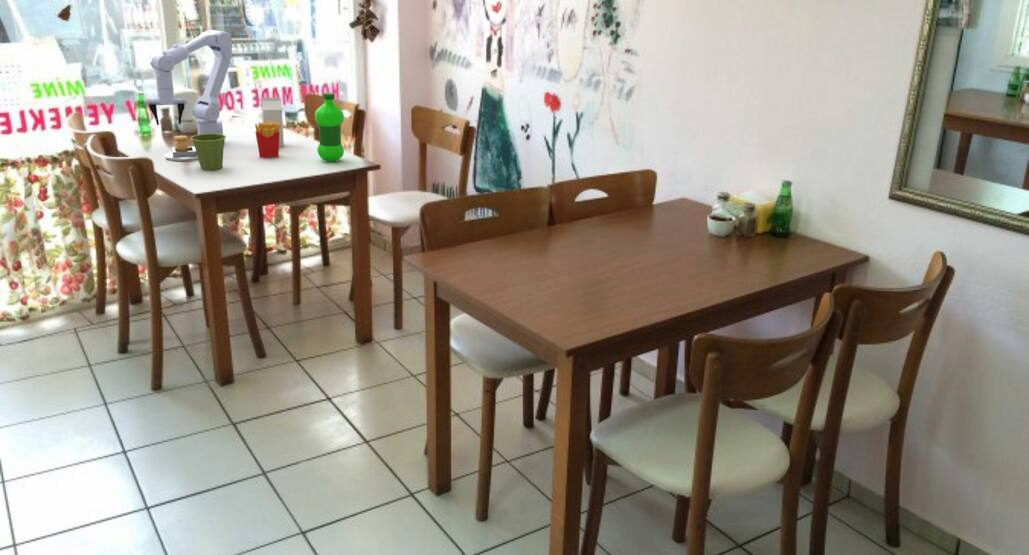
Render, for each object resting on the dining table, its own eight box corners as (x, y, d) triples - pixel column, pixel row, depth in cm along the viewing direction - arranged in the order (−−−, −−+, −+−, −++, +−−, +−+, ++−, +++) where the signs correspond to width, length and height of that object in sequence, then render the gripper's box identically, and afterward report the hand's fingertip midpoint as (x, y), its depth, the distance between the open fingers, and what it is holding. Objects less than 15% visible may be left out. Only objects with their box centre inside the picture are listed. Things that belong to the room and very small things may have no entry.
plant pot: (209, 162, 304) (206, 131, 300) (235, 166, 300) (233, 135, 296) (186, 169, 294) (182, 137, 290) (213, 174, 290) (210, 142, 286)
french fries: (257, 158, 313) (254, 123, 309) (256, 155, 317) (254, 121, 312) (282, 157, 316) (280, 123, 311) (281, 154, 320) (279, 121, 315)
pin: (185, 152, 312) (183, 135, 310) (192, 154, 309) (190, 137, 307) (173, 154, 309) (171, 136, 306) (180, 156, 306) (178, 139, 303)
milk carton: (284, 147, 332) (281, 99, 325) (265, 147, 329) (262, 99, 322) (281, 143, 338) (279, 95, 331) (263, 143, 335) (260, 96, 328)
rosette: (219, 151, 320) (219, 142, 319) (223, 159, 309) (222, 150, 308) (165, 154, 313) (164, 145, 311) (166, 162, 302) (165, 153, 300)
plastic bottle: (341, 156, 321) (339, 91, 312) (346, 163, 312) (344, 96, 303) (315, 157, 318) (312, 91, 309) (319, 164, 309) (316, 96, 300)
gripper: (185, 85, 316) (188, 121, 321) (143, 86, 311) (147, 122, 316) (186, 88, 310) (189, 125, 315) (143, 89, 305) (148, 126, 310)
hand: (168, 124), depth 315 cm, fingers open, 7 cm apart
